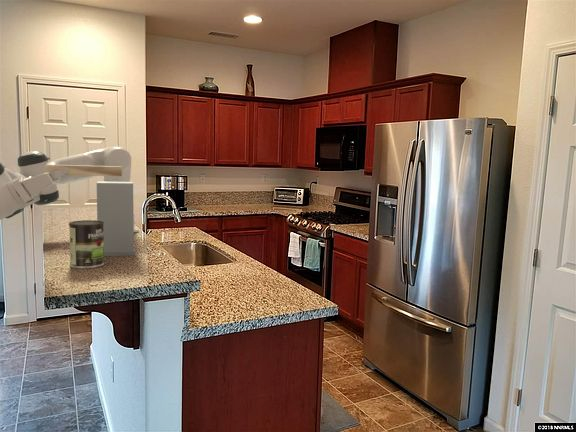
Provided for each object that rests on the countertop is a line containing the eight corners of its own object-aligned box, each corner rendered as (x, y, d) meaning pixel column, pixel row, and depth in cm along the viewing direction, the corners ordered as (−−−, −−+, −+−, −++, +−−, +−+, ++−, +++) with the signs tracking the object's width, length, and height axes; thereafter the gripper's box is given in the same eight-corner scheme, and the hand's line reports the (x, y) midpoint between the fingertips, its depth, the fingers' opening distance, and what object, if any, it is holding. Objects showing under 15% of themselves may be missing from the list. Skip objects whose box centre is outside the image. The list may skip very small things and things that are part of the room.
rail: (47, 174, 140) (46, 164, 140) (121, 175, 147) (121, 166, 147) (45, 174, 137) (44, 165, 136) (121, 176, 144) (121, 166, 144)
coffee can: (111, 263, 149) (110, 221, 147) (87, 270, 140) (86, 225, 138) (87, 259, 153) (86, 219, 151) (62, 266, 143) (61, 223, 141)
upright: (98, 251, 166) (96, 181, 162) (134, 249, 170) (134, 181, 167) (96, 256, 158) (94, 183, 154) (135, 255, 162) (134, 183, 158)
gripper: (38, 195, 148) (77, 175, 151) (25, 202, 129) (70, 179, 132) (26, 179, 146) (66, 159, 149) (11, 183, 127) (57, 160, 130)
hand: (68, 168), depth 140 cm, fingers closed on rail, 3 cm apart
